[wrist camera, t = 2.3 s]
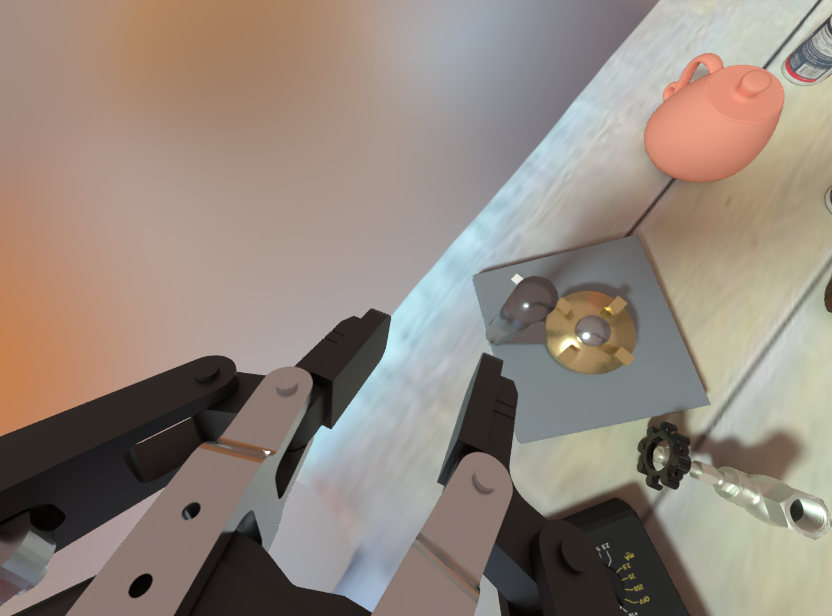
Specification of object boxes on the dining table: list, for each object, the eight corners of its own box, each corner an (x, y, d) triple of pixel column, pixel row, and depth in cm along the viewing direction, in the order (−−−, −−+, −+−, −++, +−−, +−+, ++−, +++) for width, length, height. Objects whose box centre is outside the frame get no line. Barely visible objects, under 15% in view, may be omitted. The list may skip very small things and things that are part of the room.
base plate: (628, 241, 39) (638, 233, 37) (696, 403, 34) (712, 404, 32) (472, 279, 40) (473, 274, 38) (517, 440, 36) (521, 444, 33)
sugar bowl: (663, 206, 39) (732, 149, 29) (611, 122, 43) (658, 45, 33) (758, 172, 39) (862, 102, 29) (698, 89, 42) (773, 1, 32)
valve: (766, 465, 32) (645, 416, 35) (843, 487, 26) (688, 426, 28) (753, 529, 31) (629, 475, 34) (829, 568, 25) (670, 498, 27)
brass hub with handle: (620, 294, 35) (779, 216, 18) (631, 374, 33) (821, 374, 16) (484, 297, 37) (509, 229, 20) (487, 373, 35) (518, 371, 18)
